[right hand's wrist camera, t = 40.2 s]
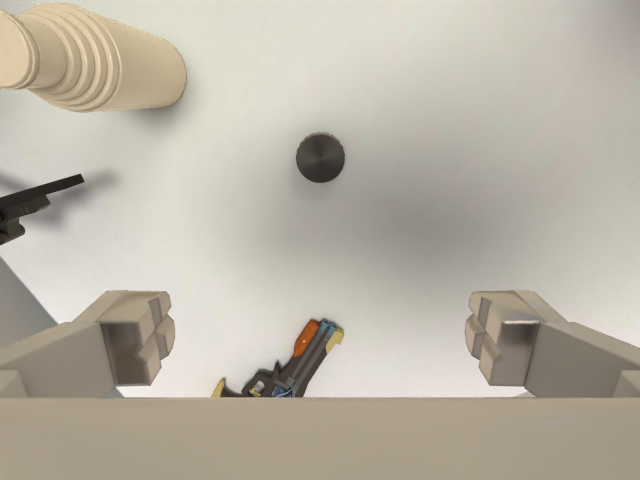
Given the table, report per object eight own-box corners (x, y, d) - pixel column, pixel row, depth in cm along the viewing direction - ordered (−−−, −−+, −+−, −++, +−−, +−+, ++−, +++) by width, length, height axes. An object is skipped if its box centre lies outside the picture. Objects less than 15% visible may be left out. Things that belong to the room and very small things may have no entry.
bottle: (193, 103, 36) (77, 110, 19) (130, 111, 36) (-42, 123, 19) (177, 30, 33) (30, -38, 16) (110, 39, 34) (-104, -21, 17)
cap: (302, 126, 36) (301, 128, 34) (349, 137, 37) (350, 140, 35) (292, 172, 38) (291, 176, 36) (337, 183, 38) (337, 188, 36)
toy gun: (198, 419, 46) (269, 455, 47) (269, 295, 42) (346, 338, 42) (206, 404, 49) (273, 439, 49) (273, 286, 44) (346, 327, 45)
